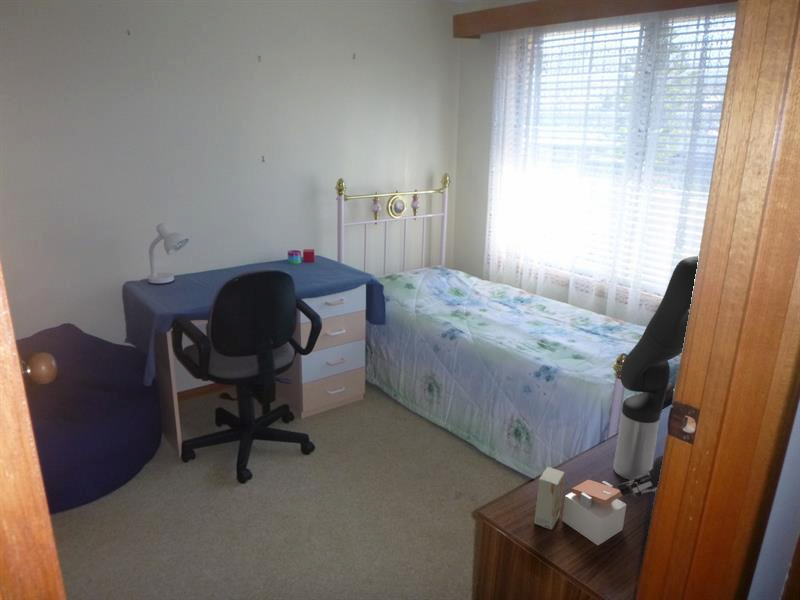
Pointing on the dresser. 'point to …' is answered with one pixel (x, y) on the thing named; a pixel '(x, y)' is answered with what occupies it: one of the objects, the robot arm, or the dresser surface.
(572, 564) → the dresser surface
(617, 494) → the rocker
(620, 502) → the switch box
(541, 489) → the skincare box
